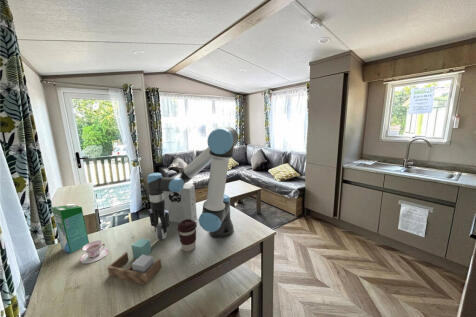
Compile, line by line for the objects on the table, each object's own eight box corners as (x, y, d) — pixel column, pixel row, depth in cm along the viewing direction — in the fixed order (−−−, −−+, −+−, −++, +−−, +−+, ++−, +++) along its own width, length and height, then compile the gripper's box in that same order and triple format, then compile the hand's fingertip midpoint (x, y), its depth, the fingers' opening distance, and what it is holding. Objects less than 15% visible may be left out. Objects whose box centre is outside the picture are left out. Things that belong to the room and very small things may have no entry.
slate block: (154, 269, 88) (152, 256, 87) (145, 280, 82) (143, 266, 81) (143, 267, 90) (141, 254, 88) (134, 277, 84) (131, 263, 83)
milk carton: (89, 243, 108) (81, 203, 103) (70, 253, 100) (60, 210, 95) (80, 239, 112) (72, 200, 107) (61, 249, 104) (51, 207, 99)
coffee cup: (201, 243, 106) (199, 219, 103) (191, 255, 97) (189, 228, 94) (186, 240, 109) (184, 216, 106) (175, 251, 100) (172, 225, 97)
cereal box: (197, 218, 134) (194, 184, 129) (192, 223, 126) (189, 188, 121) (169, 215, 139) (166, 183, 134) (163, 220, 131) (159, 186, 126)
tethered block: (166, 237, 112) (165, 224, 110) (142, 259, 95) (140, 243, 93) (158, 236, 114) (156, 222, 112) (133, 257, 96) (130, 241, 95)
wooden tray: (161, 267, 89) (160, 258, 89) (146, 284, 80) (145, 275, 79) (127, 260, 95) (125, 252, 94) (109, 275, 85) (107, 267, 84)
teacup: (77, 267, 91) (74, 256, 90) (83, 252, 101) (81, 242, 100) (106, 258, 96) (104, 248, 95) (110, 245, 107) (108, 235, 105)
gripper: (173, 198, 109) (177, 235, 113) (149, 196, 113) (154, 231, 118) (165, 204, 102) (169, 243, 106) (140, 201, 106) (145, 239, 111)
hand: (161, 237), depth 112 cm, fingers closed on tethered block, 3 cm apart
